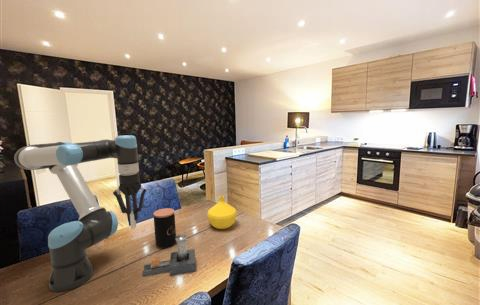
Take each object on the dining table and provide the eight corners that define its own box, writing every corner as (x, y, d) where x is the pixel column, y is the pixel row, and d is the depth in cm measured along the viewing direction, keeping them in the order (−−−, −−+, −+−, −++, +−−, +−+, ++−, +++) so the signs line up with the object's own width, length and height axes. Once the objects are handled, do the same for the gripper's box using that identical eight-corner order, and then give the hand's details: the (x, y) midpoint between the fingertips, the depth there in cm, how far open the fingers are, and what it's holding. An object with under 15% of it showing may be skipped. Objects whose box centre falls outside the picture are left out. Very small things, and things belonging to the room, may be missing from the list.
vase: (221, 216, 154) (220, 189, 151) (242, 223, 143) (242, 194, 140) (201, 227, 139) (200, 197, 136) (224, 235, 128) (223, 203, 126)
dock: (141, 280, 93) (140, 272, 93) (145, 264, 104) (144, 256, 103) (196, 271, 99) (195, 262, 98) (195, 256, 109) (194, 248, 109)
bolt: (151, 272, 98) (150, 261, 98) (151, 269, 101) (150, 258, 100) (174, 268, 101) (173, 257, 100) (174, 265, 103) (174, 254, 102)
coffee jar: (170, 249, 115) (168, 216, 113) (151, 248, 118) (149, 215, 115) (179, 239, 126) (177, 208, 123) (162, 237, 128) (160, 207, 125)
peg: (177, 270, 100) (175, 240, 98) (177, 263, 104) (175, 235, 102) (189, 268, 101) (187, 239, 99) (188, 261, 106) (186, 233, 104)
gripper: (108, 176, 87) (114, 233, 90) (144, 174, 90) (148, 229, 93) (114, 172, 94) (119, 225, 97) (147, 170, 97) (151, 221, 100)
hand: (133, 227), depth 95 cm, fingers closed
